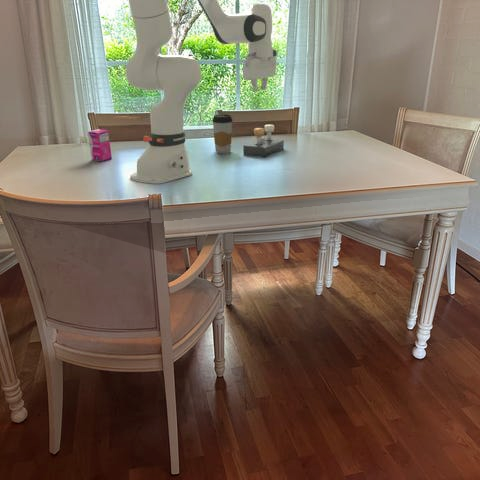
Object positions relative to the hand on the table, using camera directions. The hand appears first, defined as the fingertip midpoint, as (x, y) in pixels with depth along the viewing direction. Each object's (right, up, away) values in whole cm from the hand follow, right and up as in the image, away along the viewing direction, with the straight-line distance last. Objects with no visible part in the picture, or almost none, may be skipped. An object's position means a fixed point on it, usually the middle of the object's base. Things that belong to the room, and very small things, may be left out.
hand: (259, 90), depth 175 cm
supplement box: (-63, -27, +4) cm, 68 cm away
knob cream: (+5, -16, +16) cm, 23 cm away
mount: (+2, -21, +14) cm, 26 cm away
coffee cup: (-15, -21, +14) cm, 30 cm away
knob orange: (0, -20, +9) cm, 21 cm away
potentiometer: (+1, -17, +13) cm, 22 cm away
